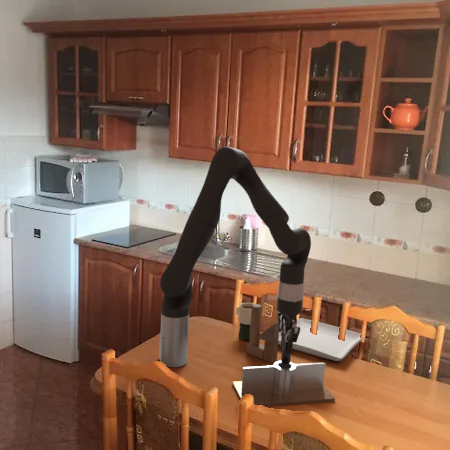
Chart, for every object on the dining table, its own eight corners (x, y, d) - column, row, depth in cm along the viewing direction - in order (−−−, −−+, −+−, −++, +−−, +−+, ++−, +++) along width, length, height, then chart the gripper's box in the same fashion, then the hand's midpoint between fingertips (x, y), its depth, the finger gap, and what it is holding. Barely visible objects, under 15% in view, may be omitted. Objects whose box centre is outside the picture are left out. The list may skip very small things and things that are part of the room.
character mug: (263, 340, 200) (266, 307, 198) (252, 345, 195) (254, 311, 192) (241, 331, 207) (242, 299, 204) (229, 336, 202) (231, 304, 199)
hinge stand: (244, 408, 152) (246, 379, 150) (232, 384, 165) (234, 357, 163) (334, 401, 159) (337, 373, 157) (316, 378, 172) (318, 353, 170)
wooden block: (271, 363, 181) (275, 313, 178) (245, 353, 188) (249, 305, 184) (277, 359, 184) (281, 310, 181) (251, 350, 191) (255, 302, 187)
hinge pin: (282, 364, 158) (285, 332, 156) (279, 359, 161) (282, 328, 159) (291, 363, 159) (294, 332, 157) (288, 359, 162) (290, 328, 160)
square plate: (341, 368, 181) (342, 357, 180) (269, 347, 195) (270, 337, 194) (365, 342, 204) (366, 333, 203) (300, 325, 218) (300, 316, 217)
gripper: (270, 288, 162) (267, 341, 165) (286, 304, 148) (282, 362, 152) (293, 288, 163) (289, 340, 167) (311, 303, 150) (306, 360, 154)
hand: (286, 350), depth 159 cm, fingers closed on hinge pin, 2 cm apart
